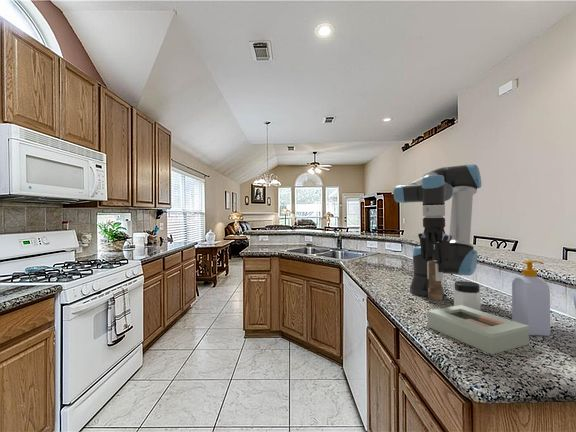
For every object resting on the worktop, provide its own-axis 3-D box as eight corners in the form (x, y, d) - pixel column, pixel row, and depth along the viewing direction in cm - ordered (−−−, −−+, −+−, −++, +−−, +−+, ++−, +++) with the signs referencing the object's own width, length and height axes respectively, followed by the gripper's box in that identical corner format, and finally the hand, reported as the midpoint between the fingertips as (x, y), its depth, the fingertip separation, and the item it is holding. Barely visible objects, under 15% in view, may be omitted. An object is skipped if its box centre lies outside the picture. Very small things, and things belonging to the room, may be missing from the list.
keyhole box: (427, 326, 102) (427, 310, 102) (461, 320, 108) (460, 304, 108) (491, 354, 81) (491, 334, 81) (528, 344, 87) (528, 325, 87)
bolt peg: (425, 297, 113) (424, 260, 113) (434, 295, 115) (434, 259, 114) (435, 300, 109) (435, 262, 108) (445, 298, 110) (444, 261, 110)
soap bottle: (553, 336, 92) (552, 263, 92) (528, 335, 93) (527, 262, 93) (535, 326, 101) (534, 258, 101) (512, 325, 102) (511, 258, 102)
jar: (456, 317, 111) (456, 285, 110) (451, 310, 118) (451, 280, 118) (484, 319, 108) (483, 286, 108) (477, 312, 116) (477, 281, 116)
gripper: (409, 217, 117) (411, 276, 118) (444, 217, 102) (446, 285, 103) (424, 216, 120) (425, 274, 120) (460, 216, 105) (461, 282, 105)
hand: (435, 279), depth 111 cm, fingers closed on bolt peg, 3 cm apart
